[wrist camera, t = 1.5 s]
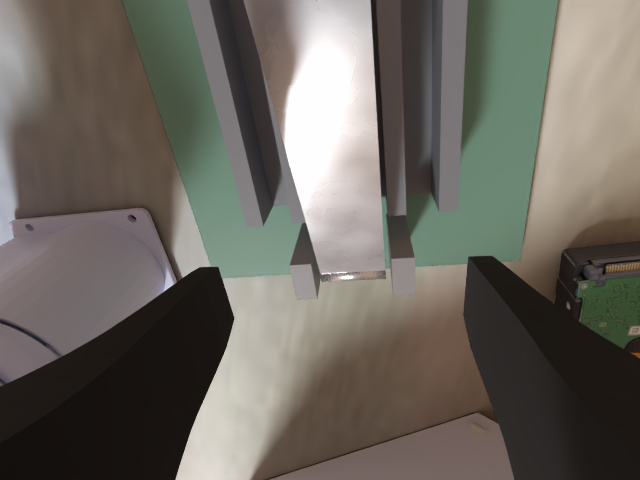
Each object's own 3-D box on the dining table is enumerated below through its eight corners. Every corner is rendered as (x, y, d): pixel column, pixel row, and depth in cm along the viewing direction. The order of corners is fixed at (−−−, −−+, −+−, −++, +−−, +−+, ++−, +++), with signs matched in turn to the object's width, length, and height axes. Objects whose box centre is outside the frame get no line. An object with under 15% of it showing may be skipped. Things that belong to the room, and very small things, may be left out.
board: (219, 271, 24) (185, 330, 20) (81, -152, 15) (-51, -235, 10) (515, 253, 21) (557, 316, 17) (588, -285, 12) (736, -486, 7)
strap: (323, 270, 19) (323, 285, 18) (215, -132, 8) (205, -126, 7) (384, 267, 18) (386, 282, 18) (360, -166, 7) (361, -164, 7)
